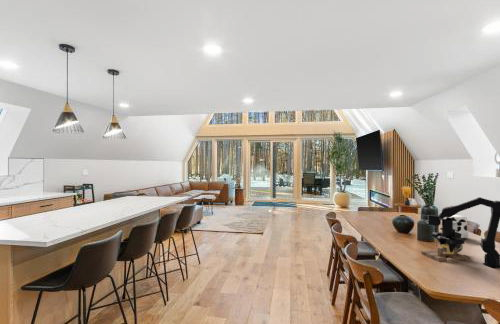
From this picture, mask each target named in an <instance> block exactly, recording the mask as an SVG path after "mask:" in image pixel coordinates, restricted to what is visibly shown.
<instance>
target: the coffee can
mask: <svg viewBox="0 0 500 324" xmlns="http://www.w3.org/2000/svg"><path fill="white" fill-rule="evenodd" d="M453 238H454V237H453ZM456 238H457V237H456ZM461 239H462V238H461ZM448 242H451V240H448V239H447V240H446V241H445V244H448ZM463 247H464V244H457V245H456V246H455V248H458V253H461V252H462V251H463Z"/></svg>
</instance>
